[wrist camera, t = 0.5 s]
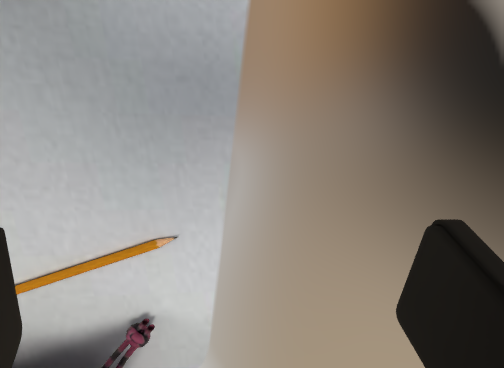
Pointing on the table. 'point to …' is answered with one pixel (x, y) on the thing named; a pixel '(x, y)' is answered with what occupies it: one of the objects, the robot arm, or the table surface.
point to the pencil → (91, 265)
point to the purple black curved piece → (132, 342)
